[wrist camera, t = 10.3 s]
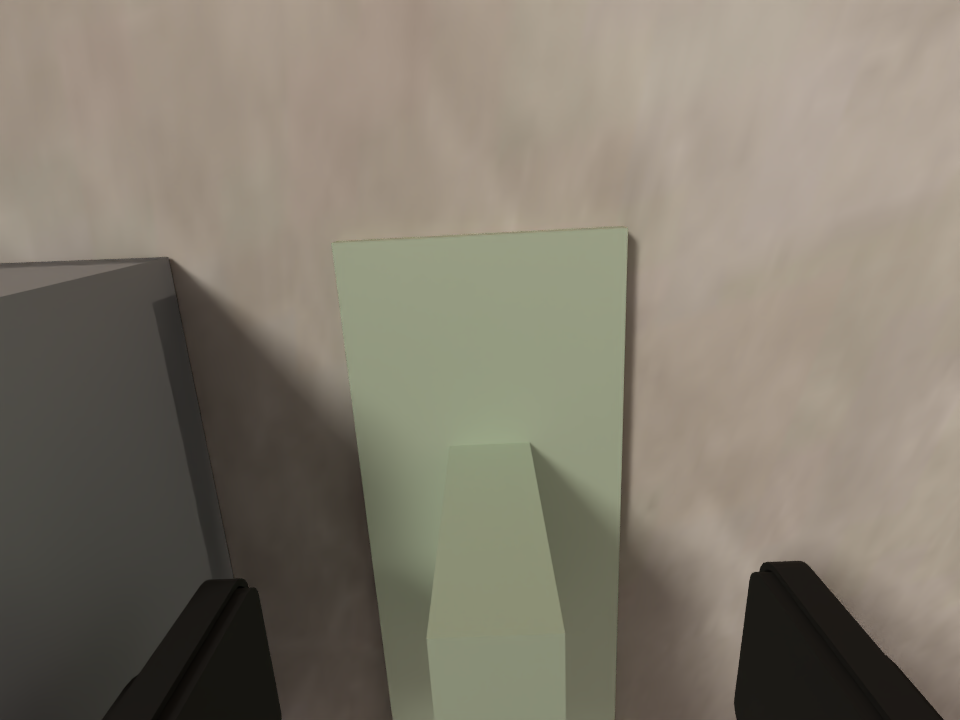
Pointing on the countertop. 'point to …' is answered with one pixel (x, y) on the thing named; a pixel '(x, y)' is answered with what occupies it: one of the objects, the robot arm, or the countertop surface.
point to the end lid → (491, 465)
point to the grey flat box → (96, 482)
